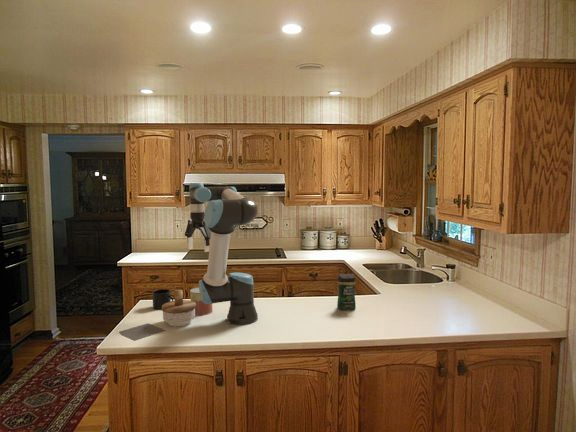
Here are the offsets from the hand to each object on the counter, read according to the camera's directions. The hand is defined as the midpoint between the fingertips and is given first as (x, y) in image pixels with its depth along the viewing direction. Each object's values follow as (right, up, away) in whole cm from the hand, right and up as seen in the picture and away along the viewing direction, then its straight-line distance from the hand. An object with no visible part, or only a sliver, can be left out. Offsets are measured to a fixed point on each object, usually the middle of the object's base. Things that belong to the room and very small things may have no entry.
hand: (198, 250), depth 227 cm
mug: (-20, -32, +2) cm, 37 cm away
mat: (-19, -35, -35) cm, 53 cm away
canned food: (+3, -32, -7) cm, 33 cm away
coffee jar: (+80, -31, -4) cm, 86 cm away
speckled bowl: (-4, -34, -24) cm, 42 cm away
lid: (-4, -26, -25) cm, 36 cm away
